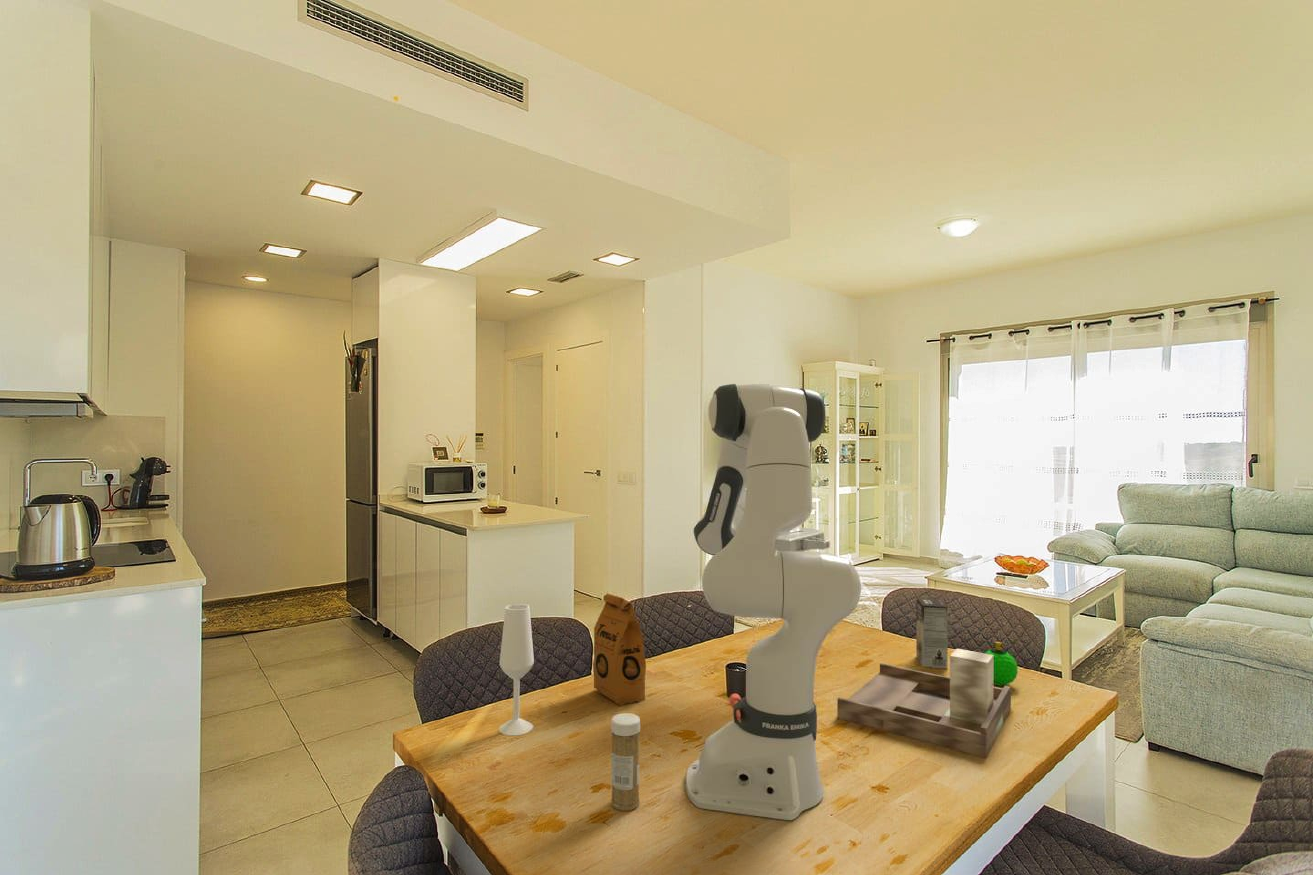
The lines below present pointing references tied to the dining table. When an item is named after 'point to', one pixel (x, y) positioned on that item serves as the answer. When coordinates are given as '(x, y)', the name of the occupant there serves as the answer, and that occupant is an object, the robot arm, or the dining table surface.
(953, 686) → the birch block
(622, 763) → the spice jar
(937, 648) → the coffee box
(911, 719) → the tray
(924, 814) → the dining table surface
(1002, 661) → the ornament
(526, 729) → the champagne flute
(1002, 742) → the dining table surface
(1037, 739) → the dining table surface
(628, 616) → the coffee package
